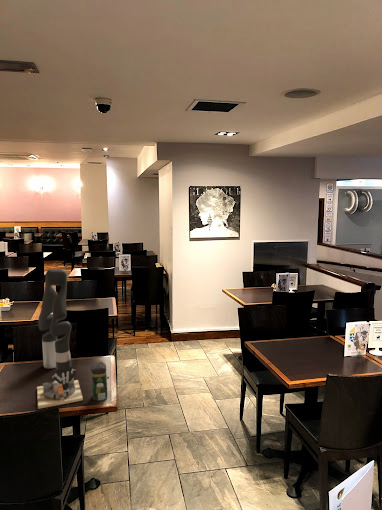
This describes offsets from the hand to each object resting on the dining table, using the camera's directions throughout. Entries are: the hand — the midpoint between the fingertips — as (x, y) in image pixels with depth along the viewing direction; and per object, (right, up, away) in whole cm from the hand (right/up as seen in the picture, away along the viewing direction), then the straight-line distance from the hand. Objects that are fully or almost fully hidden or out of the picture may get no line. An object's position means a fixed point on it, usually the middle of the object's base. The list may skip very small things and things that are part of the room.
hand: (65, 389), depth 213 cm
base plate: (-5, -4, +5) cm, 8 cm away
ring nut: (-5, -3, +5) cm, 7 cm away
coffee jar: (+18, -5, +2) cm, 19 cm away
